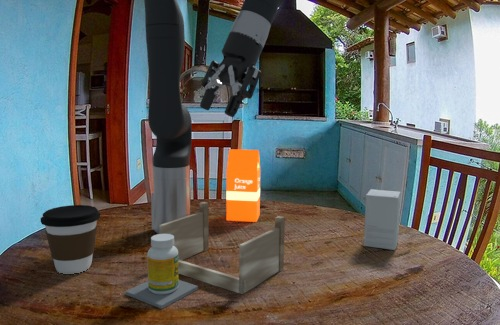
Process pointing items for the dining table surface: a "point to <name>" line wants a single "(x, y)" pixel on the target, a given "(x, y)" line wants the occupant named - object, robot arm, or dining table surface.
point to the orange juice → (243, 185)
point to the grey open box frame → (250, 252)
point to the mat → (163, 300)
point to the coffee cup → (71, 236)
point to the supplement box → (382, 219)
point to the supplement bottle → (162, 265)
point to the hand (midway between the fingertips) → (216, 112)
